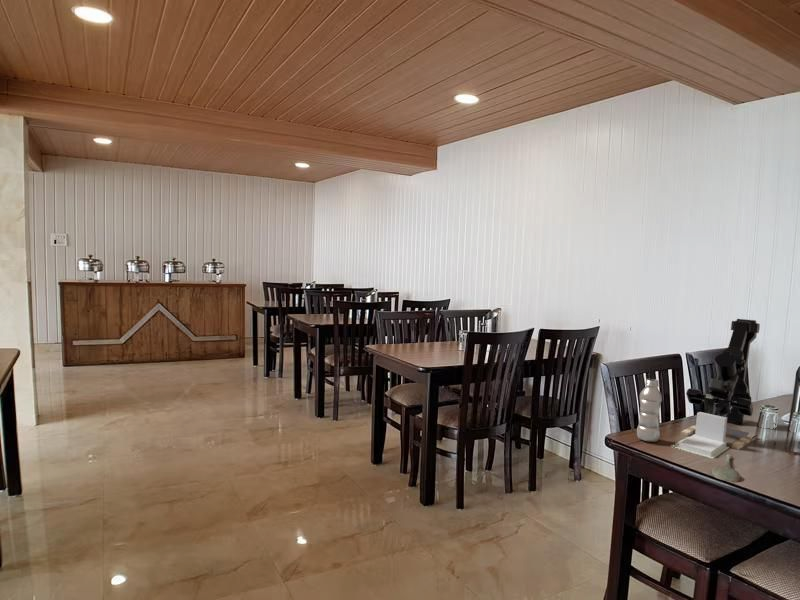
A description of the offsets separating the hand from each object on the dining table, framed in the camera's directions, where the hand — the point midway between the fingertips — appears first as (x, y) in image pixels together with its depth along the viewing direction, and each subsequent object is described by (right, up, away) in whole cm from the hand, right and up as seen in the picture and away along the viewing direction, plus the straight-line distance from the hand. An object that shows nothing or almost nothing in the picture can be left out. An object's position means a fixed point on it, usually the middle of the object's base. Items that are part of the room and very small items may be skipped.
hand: (711, 421), depth 167 cm
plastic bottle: (-22, -6, -1) cm, 23 cm away
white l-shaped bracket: (-6, -7, -6) cm, 10 cm away
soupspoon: (-9, -9, -22) cm, 26 cm away
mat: (-7, -7, -6) cm, 11 cm away
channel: (+4, -7, +5) cm, 9 cm away
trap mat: (+14, -6, +14) cm, 20 cm away
